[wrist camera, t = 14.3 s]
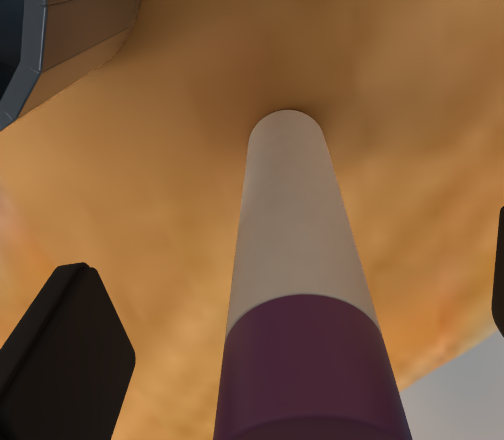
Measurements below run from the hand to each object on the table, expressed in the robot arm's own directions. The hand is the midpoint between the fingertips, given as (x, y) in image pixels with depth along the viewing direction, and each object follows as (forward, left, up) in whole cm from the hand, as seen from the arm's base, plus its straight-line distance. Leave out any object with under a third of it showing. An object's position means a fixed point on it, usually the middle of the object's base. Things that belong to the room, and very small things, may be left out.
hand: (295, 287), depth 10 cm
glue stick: (0, 0, -9) cm, 9 cm away
